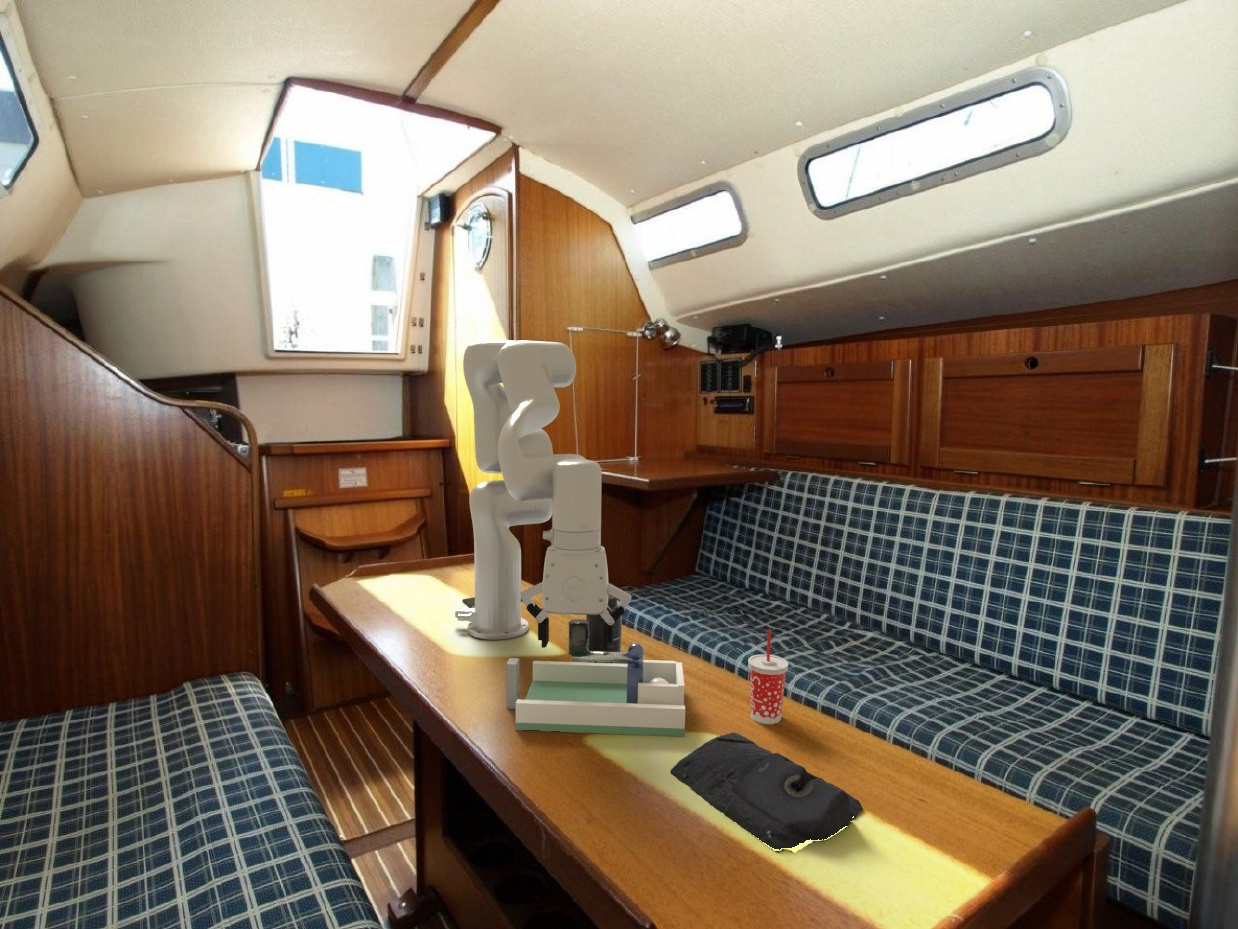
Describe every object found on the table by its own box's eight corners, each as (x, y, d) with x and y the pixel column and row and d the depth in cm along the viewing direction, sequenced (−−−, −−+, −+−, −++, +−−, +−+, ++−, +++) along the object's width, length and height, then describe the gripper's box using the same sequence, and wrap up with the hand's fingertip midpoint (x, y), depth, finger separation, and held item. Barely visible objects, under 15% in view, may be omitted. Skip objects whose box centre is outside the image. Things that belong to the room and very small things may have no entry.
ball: (672, 708, 106) (647, 709, 106) (671, 696, 110) (647, 698, 110) (670, 683, 106) (644, 685, 106) (669, 672, 110) (645, 674, 110)
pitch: (496, 729, 101) (496, 682, 101) (517, 683, 117) (517, 642, 117) (684, 736, 100) (685, 688, 99) (679, 689, 116) (681, 647, 115)
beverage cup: (743, 707, 110) (746, 623, 108) (781, 708, 110) (785, 624, 108) (749, 726, 104) (752, 637, 102) (789, 727, 103) (793, 638, 102)
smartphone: (519, 593, 171) (461, 602, 163) (519, 590, 171) (461, 598, 163) (531, 601, 165) (471, 611, 157) (531, 598, 165) (471, 607, 157)
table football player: (566, 706, 106) (566, 628, 105) (570, 689, 112) (571, 615, 110) (642, 708, 105) (644, 630, 104) (643, 691, 111) (644, 618, 110)
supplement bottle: (617, 666, 126) (618, 602, 124) (581, 662, 127) (581, 599, 126) (624, 652, 132) (625, 592, 131) (589, 649, 134) (590, 589, 132)
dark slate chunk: (742, 741, 100) (743, 710, 100) (874, 819, 82) (876, 781, 82) (660, 773, 91) (661, 740, 91) (788, 868, 73) (790, 827, 73)
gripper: (516, 543, 103) (516, 652, 105) (631, 546, 102) (629, 656, 104) (525, 532, 110) (525, 635, 112) (632, 535, 109) (630, 638, 111)
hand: (575, 645), depth 108 cm, fingers open, 9 cm apart
